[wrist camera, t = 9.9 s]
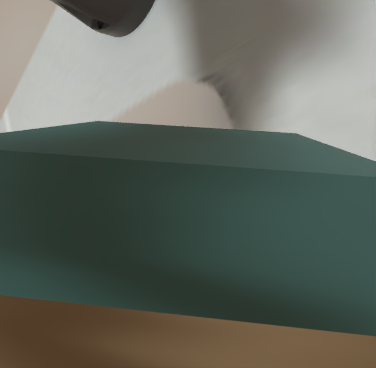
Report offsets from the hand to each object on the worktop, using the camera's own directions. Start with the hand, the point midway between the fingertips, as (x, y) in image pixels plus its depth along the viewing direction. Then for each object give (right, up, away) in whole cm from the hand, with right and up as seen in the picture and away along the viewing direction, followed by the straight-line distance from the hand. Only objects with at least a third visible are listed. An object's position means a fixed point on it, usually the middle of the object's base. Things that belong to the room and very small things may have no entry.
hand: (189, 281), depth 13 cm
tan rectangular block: (-1, -8, -3) cm, 8 cm away
